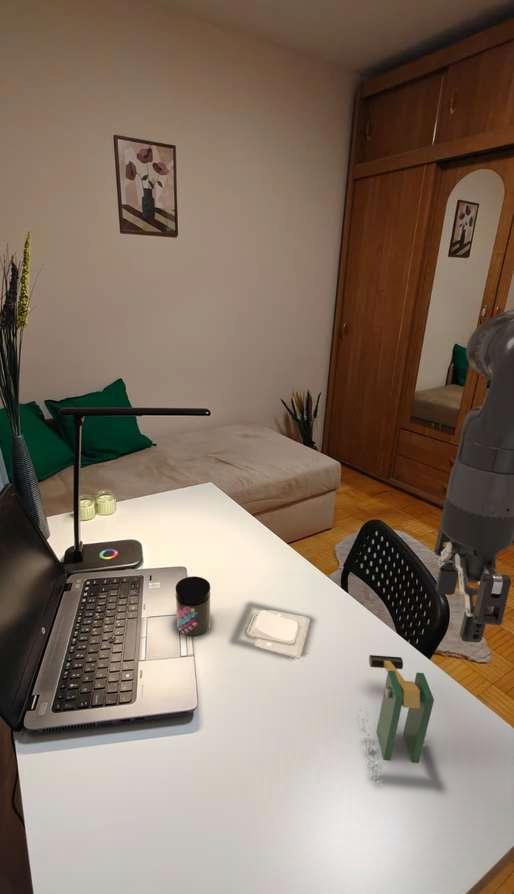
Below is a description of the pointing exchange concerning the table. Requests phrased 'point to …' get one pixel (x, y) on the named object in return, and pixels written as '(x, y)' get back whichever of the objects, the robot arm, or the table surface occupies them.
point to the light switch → (279, 632)
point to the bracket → (414, 721)
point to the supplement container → (193, 606)
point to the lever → (407, 687)
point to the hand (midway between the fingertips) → (456, 614)
